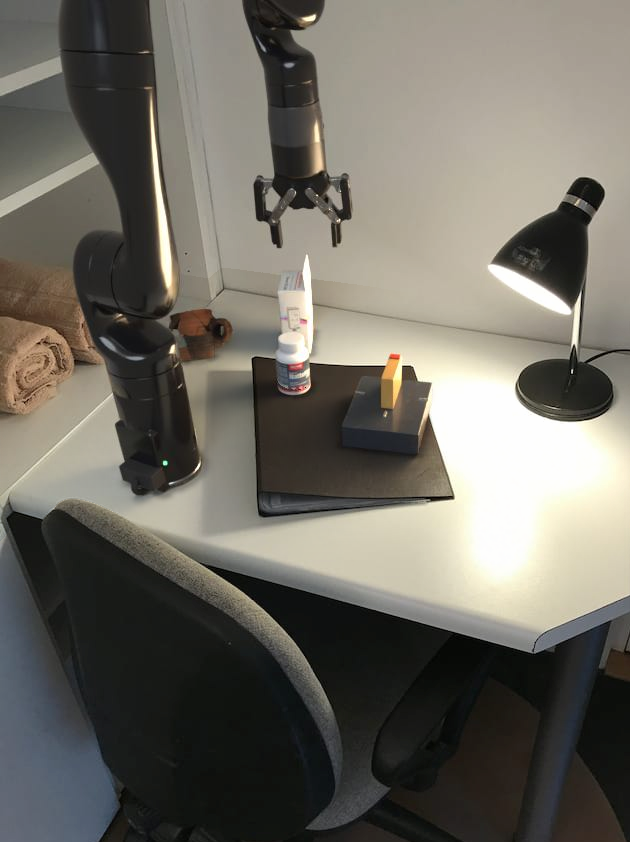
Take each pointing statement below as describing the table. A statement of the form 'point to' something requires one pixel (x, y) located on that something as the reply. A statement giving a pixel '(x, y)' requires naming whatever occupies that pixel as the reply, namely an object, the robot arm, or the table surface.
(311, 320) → the ink cartridge box
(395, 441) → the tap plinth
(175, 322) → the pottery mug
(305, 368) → the pill bottle
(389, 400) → the tap lever
